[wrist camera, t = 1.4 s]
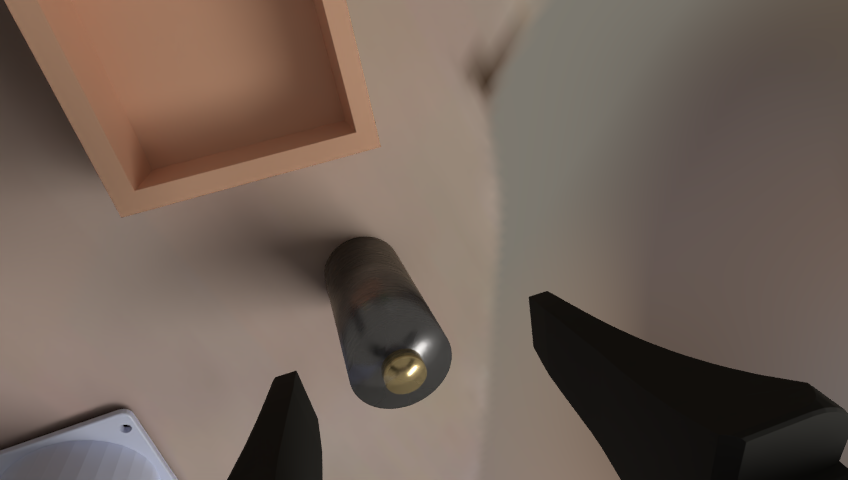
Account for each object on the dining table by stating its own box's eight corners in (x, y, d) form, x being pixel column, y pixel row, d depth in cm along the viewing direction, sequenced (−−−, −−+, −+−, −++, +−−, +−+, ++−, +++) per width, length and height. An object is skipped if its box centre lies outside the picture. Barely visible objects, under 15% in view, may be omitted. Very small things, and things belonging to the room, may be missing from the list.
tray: (364, 131, 21) (381, 146, 18) (143, 189, 20) (121, 217, 17) (299, -128, 17) (306, -164, 14) (7, -84, 15) (-58, -115, 12)
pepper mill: (406, 291, 26) (464, 396, 18) (336, 314, 25) (366, 434, 17) (390, 227, 24) (447, 314, 16) (314, 250, 23) (338, 353, 16)
